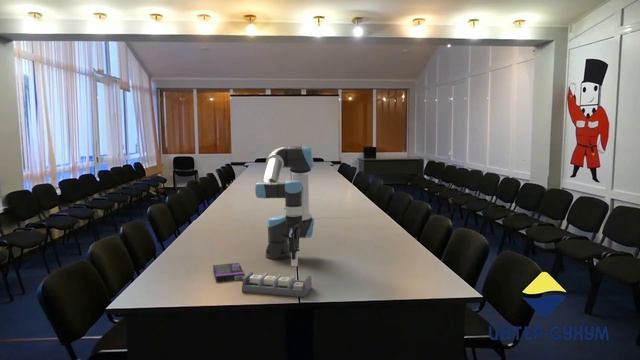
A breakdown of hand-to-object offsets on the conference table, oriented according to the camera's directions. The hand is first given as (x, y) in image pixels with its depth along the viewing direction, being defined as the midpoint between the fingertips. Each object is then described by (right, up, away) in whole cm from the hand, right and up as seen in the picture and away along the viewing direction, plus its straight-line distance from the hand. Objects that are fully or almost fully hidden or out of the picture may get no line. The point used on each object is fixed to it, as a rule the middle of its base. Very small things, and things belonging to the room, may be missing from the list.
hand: (294, 265), depth 203 cm
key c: (+2, -11, +1) cm, 11 cm away
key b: (-18, -9, +5) cm, 21 cm away
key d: (-12, -9, +4) cm, 15 cm away
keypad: (-8, -12, +3) cm, 15 cm away
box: (-35, -10, +25) cm, 44 cm away
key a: (-5, -9, +2) cm, 10 cm away
